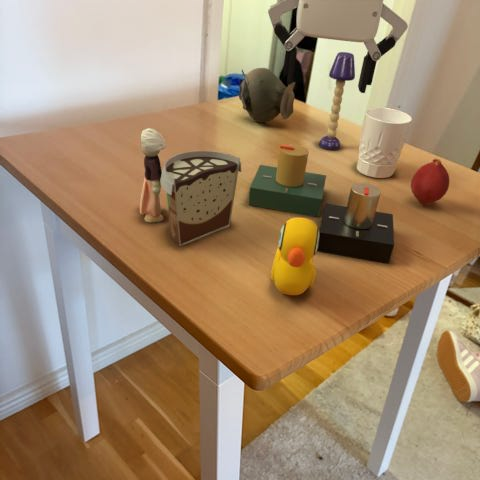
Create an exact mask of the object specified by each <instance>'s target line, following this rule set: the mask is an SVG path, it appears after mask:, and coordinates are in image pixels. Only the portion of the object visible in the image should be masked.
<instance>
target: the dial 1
mask: <svg viewBox="0 0 480 480" xmlns="http://www.w3.org/2000/svg"><path fill="white" fill-rule="evenodd" d="M278 151H279V152H278V159H277V166H276V167H277V173H276V181H277V182H278V183H279V184H281V185H284V186H288V187H297V186H301V185H302V184H303V183H304V177H305V172H307V171H306V169H307V164H308V160H309V159H308V158H309V153H310V151H309V150H308V148H307V147H305V146H303V145H301V144H293V143H287V144H280V145H279V150H278Z"/></svg>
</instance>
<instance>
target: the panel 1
mask: <svg viewBox="0 0 480 480" xmlns="http://www.w3.org/2000/svg"><path fill="white" fill-rule="evenodd" d="M276 173H277V166H272V165H271V166H270V165H264V164H259V166H258V168H257V171H256V173H255V175H254V177H253V179H252V182H251V184H250V187H249V194H248V202H247V203H248V204H247V205H248V206H251V207H252V206H253V207H257V208H263V209H269V210H275V211H281V212H287V213H292V214H298V215H304V216H311V217H316V218H319V216H320V211H321V206H322V201H323V197H324V190H325V186H326V185H325V184H326V179H327V175H326V174H321V173H315V172H307V171H305V177H304V183H303V184H302V185H301V186H297V187H288V186H284V185H281V184H279V183H278V182H277V181H276Z"/></svg>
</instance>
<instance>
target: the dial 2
mask: <svg viewBox="0 0 480 480" xmlns="http://www.w3.org/2000/svg"><path fill="white" fill-rule="evenodd" d="M381 194H382V190H381V189H380V188H379V187H378V186H376V185H374V184H371V183H366V182H357V183H353V184H352V185H351V187H350V191H349V195H348V200H347V204H346V207H347V208H346V212H345V217H344V222H345V223H346V224H347V225H348V226H350V227H352V228H356V229H368V228H370V227H371V226H372V224H373V220H374V217H375V213H376V211H377V209H378V207H379V202H380V199H381V198H380V197H381Z"/></svg>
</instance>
